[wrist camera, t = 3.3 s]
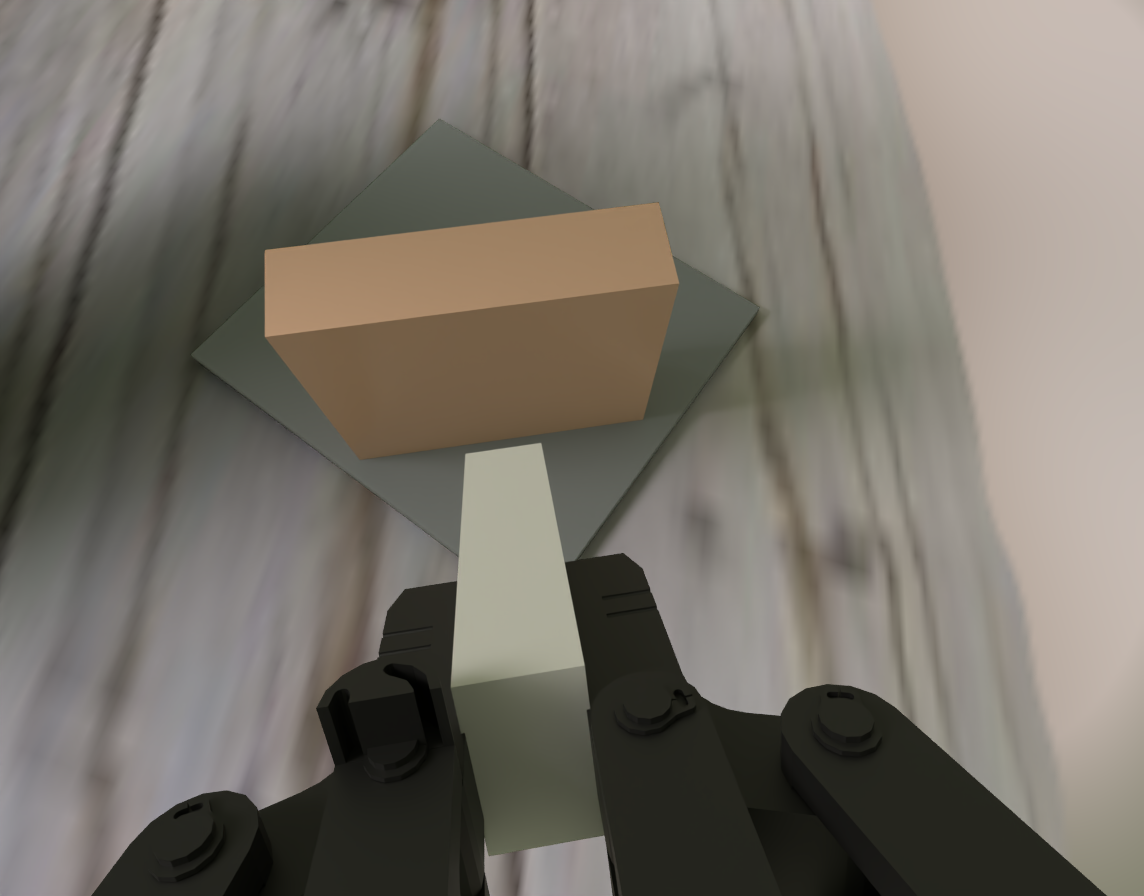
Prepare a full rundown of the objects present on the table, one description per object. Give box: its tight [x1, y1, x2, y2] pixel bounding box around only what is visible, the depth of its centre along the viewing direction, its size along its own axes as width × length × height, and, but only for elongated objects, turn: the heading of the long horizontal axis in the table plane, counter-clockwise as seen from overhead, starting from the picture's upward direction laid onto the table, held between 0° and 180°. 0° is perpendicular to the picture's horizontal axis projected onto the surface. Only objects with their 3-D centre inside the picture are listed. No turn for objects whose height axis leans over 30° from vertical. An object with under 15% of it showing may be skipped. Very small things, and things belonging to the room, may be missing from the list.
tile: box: [265, 202, 679, 460], centre depth 26 cm, size 3×12×10 cm, turn 99°
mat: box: [191, 119, 760, 562], centre depth 32 cm, size 19×17×1 cm
